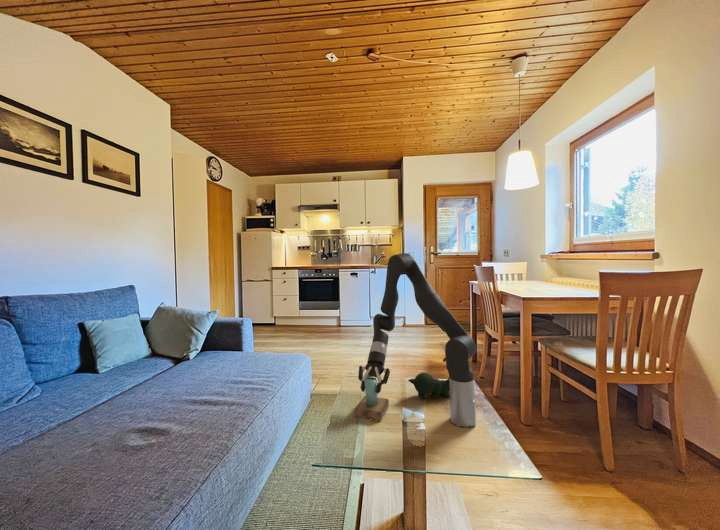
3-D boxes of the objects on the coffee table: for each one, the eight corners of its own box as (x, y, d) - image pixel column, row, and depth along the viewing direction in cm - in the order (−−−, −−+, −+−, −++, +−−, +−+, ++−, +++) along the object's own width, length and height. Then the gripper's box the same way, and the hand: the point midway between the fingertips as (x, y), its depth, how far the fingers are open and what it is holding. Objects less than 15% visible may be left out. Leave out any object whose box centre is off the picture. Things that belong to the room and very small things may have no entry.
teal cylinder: (379, 401, 132) (378, 378, 131) (375, 406, 127) (374, 382, 127) (368, 399, 133) (367, 376, 133) (364, 405, 129) (362, 381, 128)
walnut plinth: (388, 408, 133) (388, 399, 133) (381, 421, 123) (380, 411, 123) (365, 404, 137) (364, 395, 137) (355, 417, 127) (355, 408, 127)
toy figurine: (453, 391, 149) (404, 393, 144) (455, 352, 148) (405, 353, 144) (463, 400, 139) (411, 403, 135) (465, 359, 139) (412, 360, 134)
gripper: (360, 349, 139) (351, 386, 128) (391, 351, 133) (384, 390, 123) (365, 356, 144) (356, 393, 133) (395, 359, 138) (388, 397, 128)
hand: (370, 391), depth 128 cm, fingers open, 6 cm apart
